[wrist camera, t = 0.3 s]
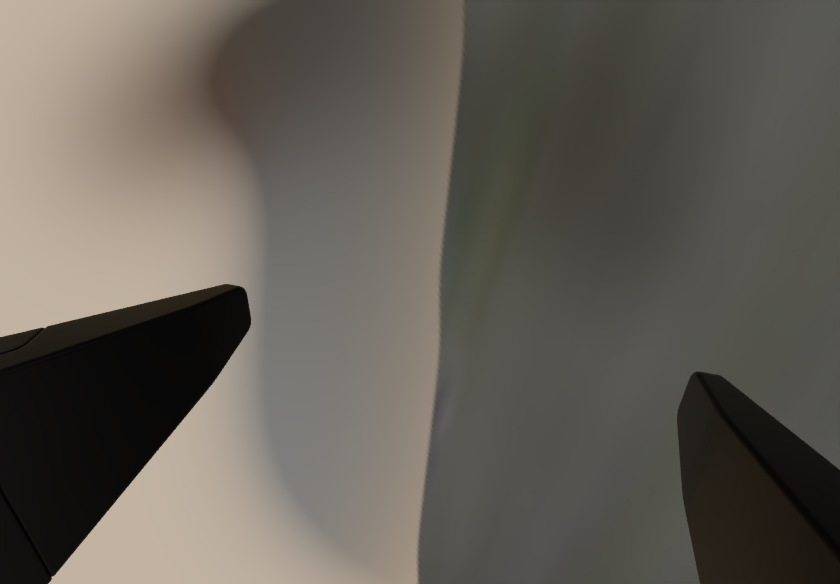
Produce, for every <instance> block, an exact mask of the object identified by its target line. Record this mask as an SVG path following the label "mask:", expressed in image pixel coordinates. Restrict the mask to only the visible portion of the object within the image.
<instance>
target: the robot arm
mask: <svg viewBox="0 0 840 584" xmlns="http://www.w3.org/2000/svg"><path fill="white" fill-rule="evenodd" d="M250 325H251V315H250V309H249V304H248V298H247V293H246V291H245V289H244V288H243V287H240V286H234V285H230V284H224V285H220V286H215V287H211V288H207V289H203V290H198V291H194V292H190V293H186V294H182V295H178V296H173V297H169V298H165V299H161V300H156V301H152V302H148V303H144V304H140V305H136V306H132V307H127V308H123V309H118V310H114V311H110V312H106V313H102V314H98V315H93V316H89V317H85V318H81V319H76V320H72V321H68V322H64V323H60V324H56V325H51V326H48V327H46V328H38V329H34V330H30V331H26V332H22V333H17V334H13V335H8V336H4V337H0V584H48V583H49V582H50V581H51V579H52V578H51V577H52V576H54V575H55V574H56V573H57V572H58V571H59V569H60V568H61V567H62V566H63V565H64V563H65V562H66V561H67V560H68V558H69V557H70V556H71V555H72V554H73V552H74V551H75V550H76V549H77V547H78V546H79V545H80V544H81V543H82V542H83V540H84V539H85V538H86V537H87V535H88V534H89V533H90V532H91V531H92V529H93V528H94V527H95V526H96V525H97V523H98V522H99V521H100V520H101V518H102V517H103V516H104V515H105V514H106V512H107V511H108V510H109V509H110V508H111V506H112V505H113V504H114V503H115V502H116V500H117V499H118V498H119V497H120V495H121V494H122V493H123V492H124V491H125V489H126V488H127V487H128V486H129V484H130V483H131V482H132V481H133V480H134V478H135V477H136V476H137V475H138V474H139V472H140V471H141V470H142V469H143V468H144V466H145V465H146V464H147V463H148V461H149V460H150V459H151V458H152V457H153V455H154V454H155V453H156V451H158V449H159V448H160V447H161V446H162V444H163V443H164V442H165V441H166V440H167V438H168V437H169V436H170V435H171V434H172V432H173V431H174V430H175V429H176V427H177V426H178V425H179V424H180V423H181V422H182V420H183V419H184V418H185V417H186V415H187V414H188V413H189V412H190V411H191V409H192V408H193V407H194V406H195V404H196V403H197V402H198V401H199V400H200V398H201V397H202V396H203V395H204V394H205V392H206V391H207V390H208V389H209V387H210V386H211V385H212V384H213V382H214V381H215V379H216V378H217V377H218V375H219V374H220V372H221V371H222V369H223V368H224V366H225V365H226V363H227V362H228V360H229V359H230V357H231V356H232V354H233V353H234V351H235V350H236V348H237V347H238V345H239V344H240V342H241V341H242V339H243V338H244V336H245V335H246V333H247V332H248V330H249V328H250ZM677 425H678V439H679V453H680V467H681V481H682V492H683V500H684V506H685V512H686V517H687V522H688V526H689V531H690V536H691V541H692V546H693V551H694V556H695V561H696V566H697V570H698V575H699V580H700V584H840V470H839V469H838V468H837V467H836V466H834V465H833V464H832V463H830V462H829V461H828V460H827V459H825V458H824V457H823V456H822V455H820V454H819V453H818V452H817V451H815V450H814V449H813V448H812V447H810V446H809V445H808V444H807V443H805V442H804V441H803V440H801V439H800V438H799V437H798V436H796V435H795V434H794V433H793V432H791V431H790V430H789V429H788V428H786V427H785V426H784V425H783V424H781V423H780V422H779V421H778V420H776V419H775V418H774V417H773V416H771V415H770V414H769V413H767V412H766V411H765V410H764V409H762V408H761V407H760V406H759V405H757V404H756V403H755V402H754V401H752V400H751V399H750V398H749V397H747V396H746V395H745V394H744V393H742V392H741V391H740V390H739V389H737V388H736V387H735V386H733V385H732V384H731V383H730V382H728V381H727V380H726V379H725V378H723V377H722V376H720V375H715V374H710V373H705V372H695V373H693V374H692V375H691V377H690V379H689V382H688V384H687V387H686V390H685V392H684V395H683V398H682V400H681V403H680V405H679V409H678V414H677Z"/></svg>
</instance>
